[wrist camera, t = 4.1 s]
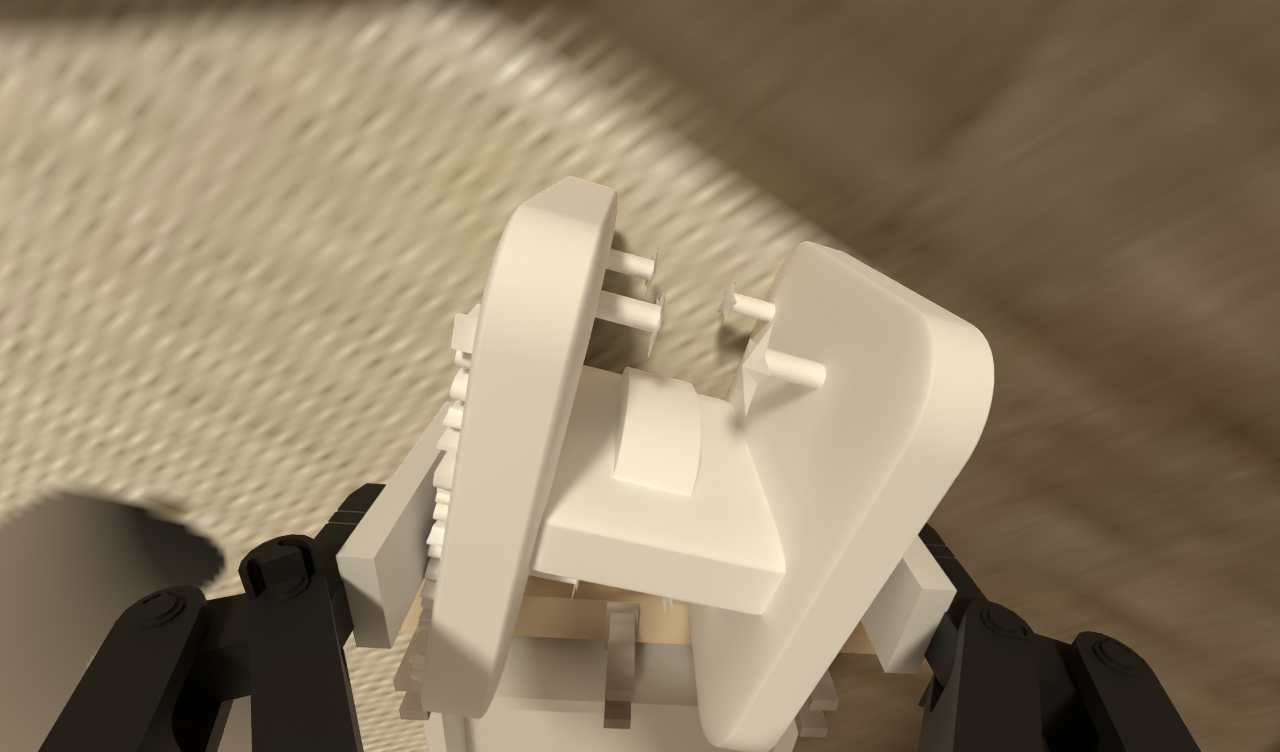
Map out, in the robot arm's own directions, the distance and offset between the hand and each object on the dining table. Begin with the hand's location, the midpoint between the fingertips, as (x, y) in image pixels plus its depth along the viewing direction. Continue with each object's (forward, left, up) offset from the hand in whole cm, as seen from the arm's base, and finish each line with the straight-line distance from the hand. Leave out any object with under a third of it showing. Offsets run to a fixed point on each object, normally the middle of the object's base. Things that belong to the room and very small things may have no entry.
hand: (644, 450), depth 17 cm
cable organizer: (0, 0, -6) cm, 6 cm away
